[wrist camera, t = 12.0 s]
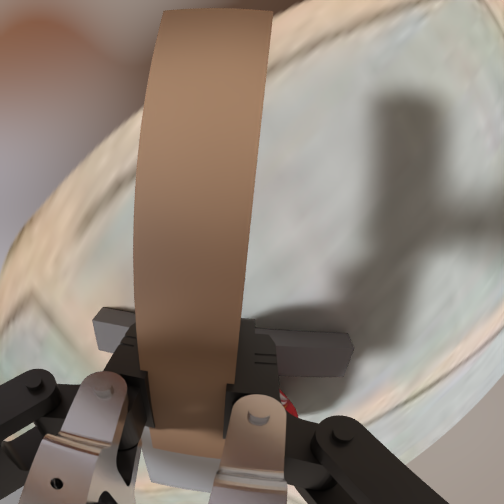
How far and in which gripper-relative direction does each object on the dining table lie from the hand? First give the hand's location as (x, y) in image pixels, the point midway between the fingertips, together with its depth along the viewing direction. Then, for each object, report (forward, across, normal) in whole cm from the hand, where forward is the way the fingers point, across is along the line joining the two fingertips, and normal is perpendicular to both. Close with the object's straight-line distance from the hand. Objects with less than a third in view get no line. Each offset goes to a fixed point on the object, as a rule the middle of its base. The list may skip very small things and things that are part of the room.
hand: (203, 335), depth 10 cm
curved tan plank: (0, 0, +1) cm, 1 cm away
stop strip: (+10, 0, +8) cm, 13 cm away
